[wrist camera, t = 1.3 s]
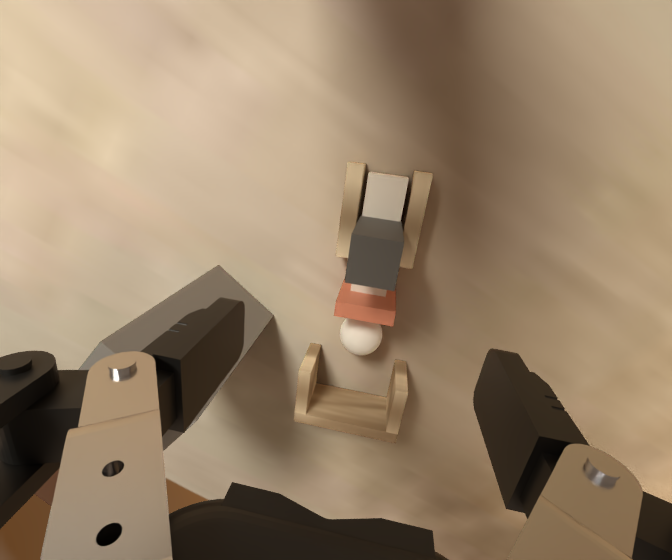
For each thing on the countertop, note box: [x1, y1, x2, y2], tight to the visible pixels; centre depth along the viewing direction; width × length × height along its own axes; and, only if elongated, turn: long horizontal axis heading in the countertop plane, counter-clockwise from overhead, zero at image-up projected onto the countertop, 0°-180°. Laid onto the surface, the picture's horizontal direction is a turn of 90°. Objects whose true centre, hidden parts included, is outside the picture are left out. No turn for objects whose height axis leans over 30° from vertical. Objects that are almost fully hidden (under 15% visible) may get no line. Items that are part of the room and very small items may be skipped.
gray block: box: [334, 172, 409, 327], centre depth 24 cm, size 10×4×8 cm, turn 173°
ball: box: [340, 318, 382, 355], centre depth 29 cm, size 4×4×4 cm
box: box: [294, 343, 408, 443], centre depth 31 cm, size 5×9×4 cm, turn 83°
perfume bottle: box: [35, 265, 273, 506], centre depth 24 cm, size 7×7×18 cm
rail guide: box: [336, 162, 433, 269], centre depth 26 cm, size 7×6×2 cm
